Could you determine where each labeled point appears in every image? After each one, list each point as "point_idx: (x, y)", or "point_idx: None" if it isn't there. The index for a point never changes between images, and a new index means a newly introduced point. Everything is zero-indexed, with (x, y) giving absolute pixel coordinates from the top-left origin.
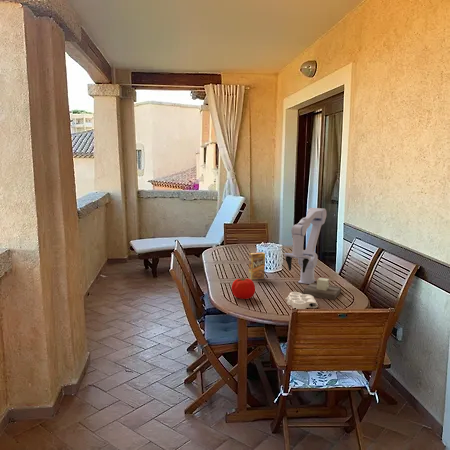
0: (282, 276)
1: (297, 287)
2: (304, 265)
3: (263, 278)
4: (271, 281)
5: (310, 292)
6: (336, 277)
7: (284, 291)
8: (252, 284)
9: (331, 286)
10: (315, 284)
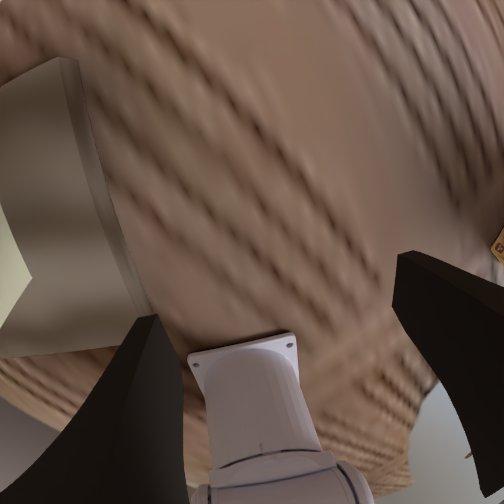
0: (411, 354)
1: (237, 224)
2: (77, 436)
3: (493, 245)
4: (455, 226)
5: (5, 88)
6: None
7: (278, 22)
8: None
9: (4, 340)
10: (92, 315)
